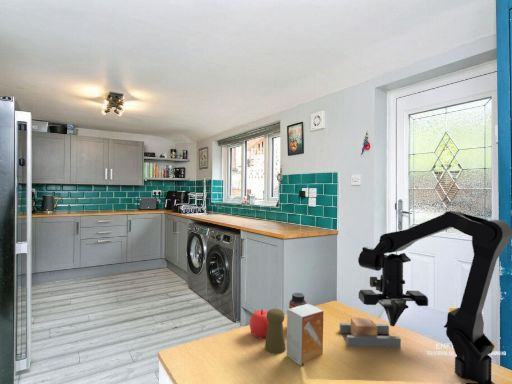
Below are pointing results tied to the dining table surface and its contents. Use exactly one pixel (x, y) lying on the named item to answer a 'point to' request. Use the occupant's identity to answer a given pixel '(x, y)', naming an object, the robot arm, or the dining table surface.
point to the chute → (371, 337)
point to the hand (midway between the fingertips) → (392, 325)
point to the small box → (304, 333)
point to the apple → (259, 323)
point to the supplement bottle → (297, 300)
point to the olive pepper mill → (275, 332)
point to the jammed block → (363, 327)
